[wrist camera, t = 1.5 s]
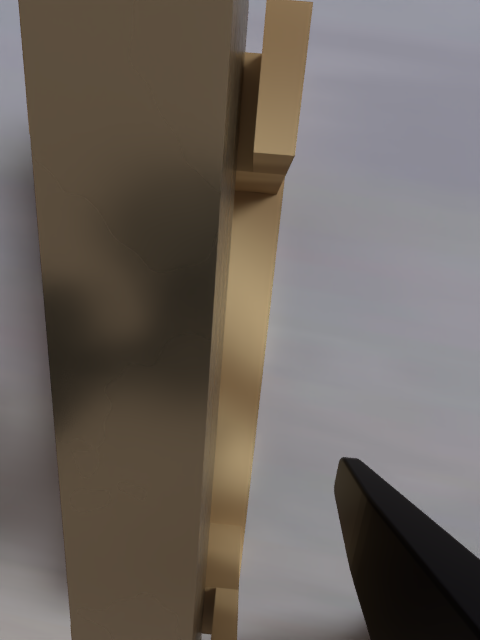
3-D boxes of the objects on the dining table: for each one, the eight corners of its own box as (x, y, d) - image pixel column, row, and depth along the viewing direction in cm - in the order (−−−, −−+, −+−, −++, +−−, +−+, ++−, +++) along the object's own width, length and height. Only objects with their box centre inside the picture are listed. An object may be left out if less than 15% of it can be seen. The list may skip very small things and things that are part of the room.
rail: (200, 647, 11) (182, 794, 8) (128, 640, 11) (83, 782, 8) (248, 8, 6) (247, -218, 3) (119, -2, 6) (-1, -236, 3)
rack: (238, 574, 14) (233, 718, 10) (126, 562, 14) (71, 700, 10) (294, 71, 9) (337, -98, 5) (118, 58, 9) (-4, -121, 5)
